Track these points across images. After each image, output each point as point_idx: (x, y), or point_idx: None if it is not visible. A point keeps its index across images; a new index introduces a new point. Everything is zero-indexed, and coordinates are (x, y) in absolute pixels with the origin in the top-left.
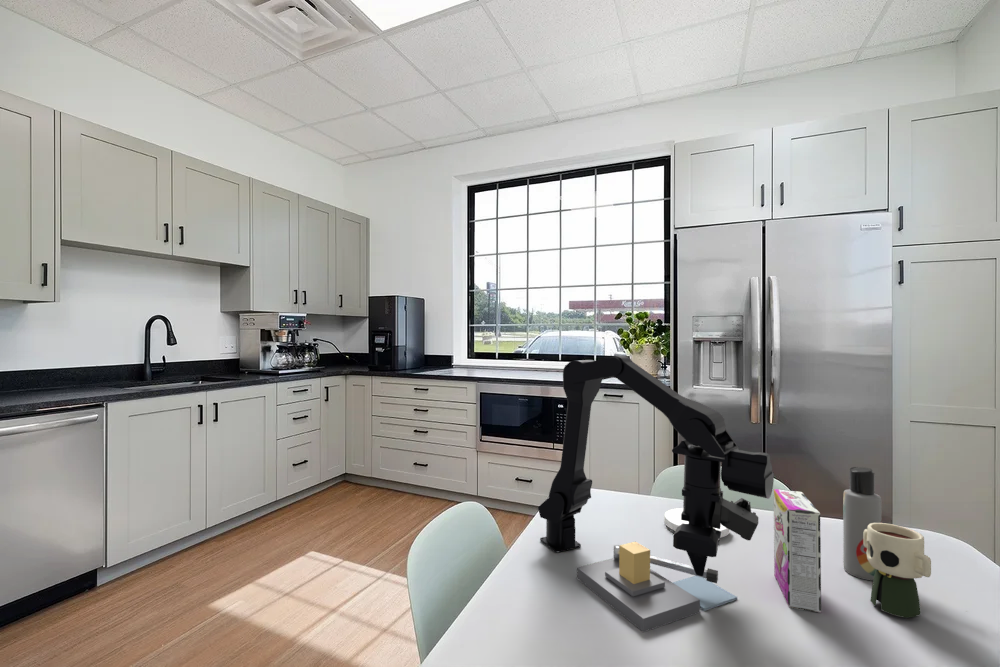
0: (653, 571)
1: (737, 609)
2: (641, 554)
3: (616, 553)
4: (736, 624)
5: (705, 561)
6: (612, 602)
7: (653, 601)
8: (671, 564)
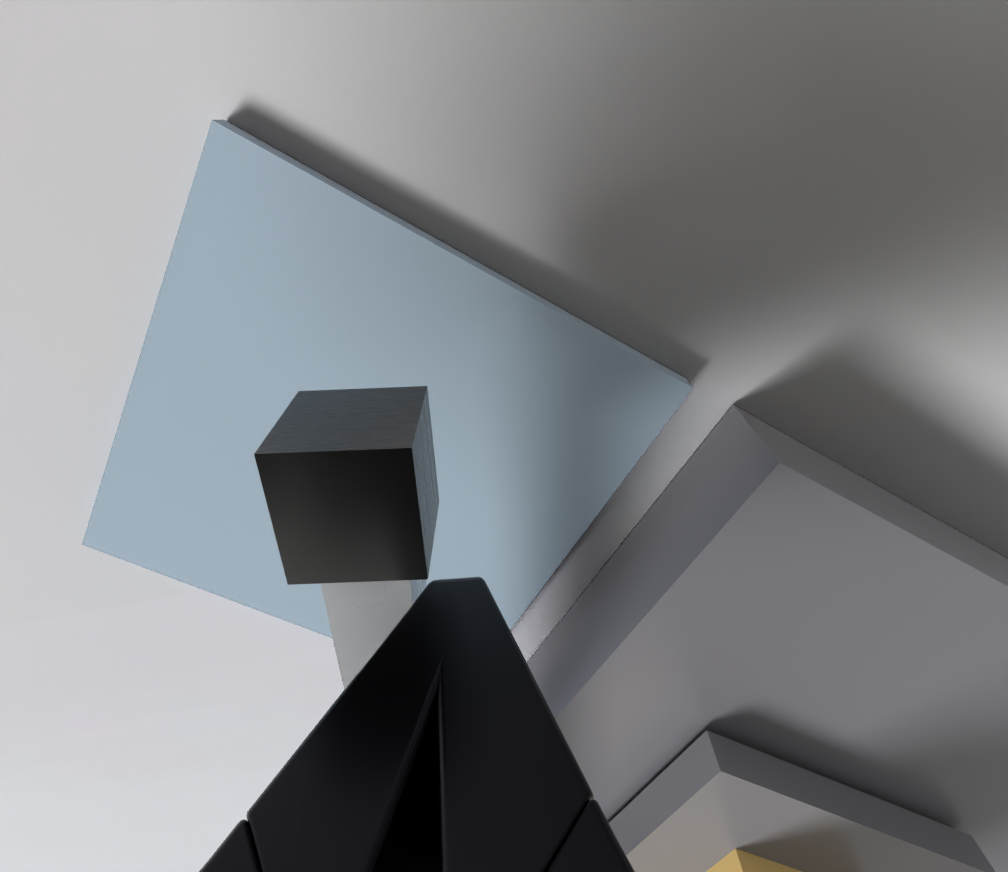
0: None
1: (455, 84)
2: None
3: None
4: (793, 46)
5: (585, 778)
6: None
7: (977, 733)
8: None
